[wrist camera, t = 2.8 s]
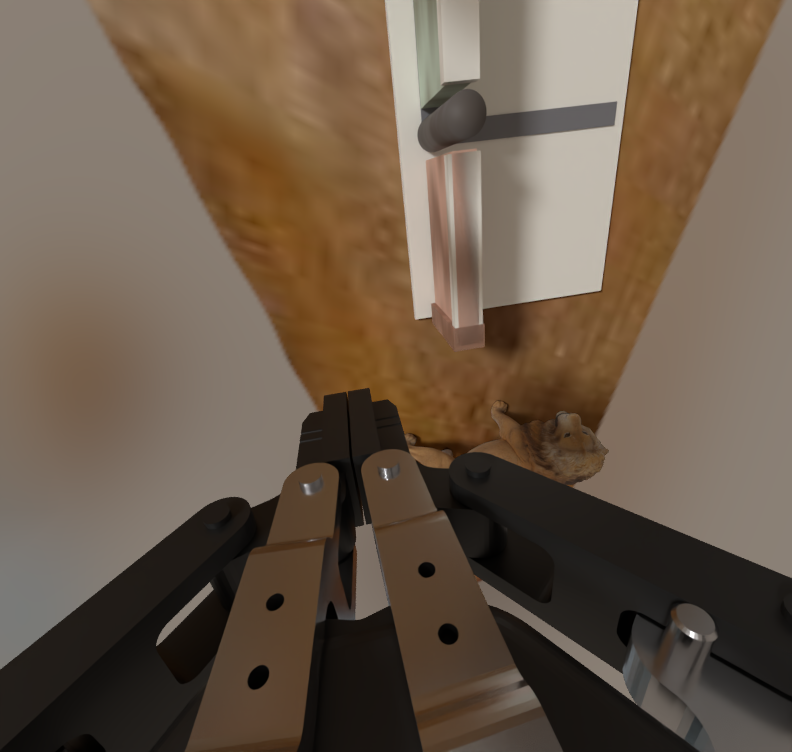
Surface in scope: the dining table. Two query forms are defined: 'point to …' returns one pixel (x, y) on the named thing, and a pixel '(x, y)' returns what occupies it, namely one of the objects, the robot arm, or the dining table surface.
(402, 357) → the dining table surface
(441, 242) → the fence panel
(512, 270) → the card
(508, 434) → the lion figurine
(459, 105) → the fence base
